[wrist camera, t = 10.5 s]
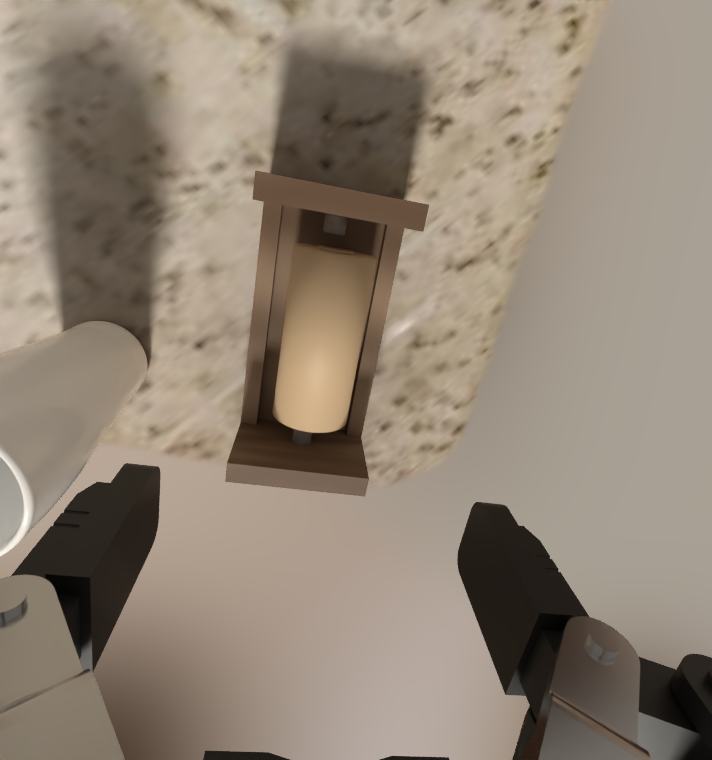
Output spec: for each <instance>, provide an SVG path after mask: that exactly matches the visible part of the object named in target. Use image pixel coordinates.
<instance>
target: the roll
mask: <svg viewBox="0 0 712 760" xmlns="http://www.w3.org/2000/svg"><path fill="white" fill-rule="evenodd" d="M376 263H377V258H375V257H373V256H370V255H367V254H364V253H360V252H355V251H352V250H349V249H345V248H340V247H334V246H328V245H317V244H308V243H295V244H294V248H293V256H292V264H291V271H290V279H289V287H288V295H287V303H286V311H285V319H284V327H283V335H282V343H281V350H280V358H279V366H278V374H277V382H276V390H275V398H274V406H273V415H274V417H275V418H276V419H277V420H278V421H279V422H281V423H282V424H284V425H286V426H288V427H290V428H293V429H296V430H300V431H305V432H312V433H326V432H333V431H336V430H339V429H341V428H342V427H344V426H345V424H346V422H347V416H348V411H349V406H350V401H351V395H352V390H353V385H354V379H355V374H356V369H357V363H358V358H359V353H360V348H361V342H362V337H363V332H364V326H365V321H366V316H367V310H368V305H369V300H370V295H371V289H372V284H373V279H374V273H375V268H376Z"/></svg>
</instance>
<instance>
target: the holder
mask: <svg viewBox="0 0 712 760" xmlns="http://www.w3.org/2000/svg"><path fill="white" fill-rule="evenodd" d="M253 199H254V200H259V201H264V206H263V215H262V225H261V234H260V244H259V254H258V263H257V273H256V282H255V292H254V301H253V311H252V320H251V330H250V340H249V349H248V359H247V368H246V378H245V387H244V397H243V406H242V416H241V424H240V427H239V430H238V433H237V436H236V439H235V441H234V444H233V447H232V450H231V453H230V456H229V459H228V462H227V471H226V482H234V483H243V484H253V485H262V486H272V487H282V488H291V489H301V490H310V491H319V492H328V493H338V494H347V495H358V496H365V494H366V489H367V485H368V480H369V477H368V472H367V467H366V462H365V456H364V451H363V446H362V440H361V435H362V430H363V426H364V421H365V416H366V411H367V406H368V401H369V396H370V392H371V387H372V382H373V377H374V372H375V367H376V362H377V358H378V353H379V348H380V343H381V338H382V333H383V328H384V324H385V319H386V314H387V309H388V304H389V299H390V294H391V290H392V285H393V280H394V275H395V270H396V265H397V261H398V256H399V251H400V246H401V241H402V236H403V231H404V228H407V229H412V230H418V231H423V230H424V226H425V221H426V217H427V212H428V208H429V205H427V204H422V203H417V202H412V201H407V200H402V199H397V198H391V197H386V196H381V195H376V194H371V193H366V192H361V191H356V190H351V189H346V188H341V187H336V186H331V185H326V184H321V183H316V182H311V181H306V180H300V179H295V178H290V177H285V176H280V175H275V174H270V173H265V172H260V171H255V180H254V191H253ZM295 243H308V244H317V245H328V246H334V247H340V248H345V249H349V250H352V251H355V252H360V253H364V254H367V255H370V256H373V257H375V258H377V263H376V268H375V273H374V279H373V284H372V289H371V295H370V300H369V305H368V310H367V316H366V321H365V326H364V332H363V337H362V342H361V348H360V353H359V358H358V363H357V369H356V374H355V379H354V385H353V390H352V395H351V401H350V406H349V411H348V416H347V422H346V424H345V426H344V427H342V428H341V429H339V430H336V431H333V432H326V433H312V432H305V431H300V430H296V429H293V428H290V427H288V426H286V425H284V424H282V423H281V422H279V421H278V420H277V419H276V418H275V417H274V415H273V406H274V398H275V390H276V382H277V374H278V366H279V358H280V350H281V343H282V335H283V327H284V319H285V311H286V303H287V295H288V287H289V279H290V271H291V264H292V256H293V248H294V244H295Z"/></svg>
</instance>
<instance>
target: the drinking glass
mask: <svg viewBox="0 0 712 760" xmlns="http://www.w3.org/2000/svg"><path fill="white" fill-rule="evenodd" d="M147 367H148V365H147V357H146V354H145V351H144V349H143V347H142V345H141V344H140V342H139V341H138V340H137V339H136V337H135V336H134V335H133V334H131V333H130V332H129V331H127V330H126V329H124V328H123V327H121V326H119V325H116V324H114V323H110V322H105V321H89V322H84V323H81V324H78V325H76V326H74V327H72V328H70V329H68V330H66V331H64V332H61V333H58V334H55V335H53V336H50V337H47V338H44V339H41V340H38V341H35V342H32V343H29V344H27V345H24V346H21V347H18V348H15V349H12V350H9V351H6V352H3V353H0V556H2V555H3V554H5V553H7V552H8V551H10V550H11V549H12V548H14V547H15V546H16V545H17V544H18V543H19V542H20V541H21V540H22V539H23V538H24V536H25V535H26V534H27V533H28V532H29V531H30V530H31V529H32V528H33V527H34V526H35V525H36V524H37V523H38V522H39V521H40V520H41V519H42V518H43V517H44V516H45V515H46V514H47V513H48V512H49V510H50V509H51V508H52V507H53V506H54V505H55V504H56V503H57V502H58V500H59V499H60V498H61V497H62V496H63V494H64V493H65V492H66V491H67V489H68V488H69V487H70V486H71V484H72V483H73V482H74V481H75V479H76V478H77V477H78V475H79V474H80V472H81V471H82V469H83V468H84V466H85V465H86V464H87V462H88V461H89V459H90V458H91V456H92V455H93V453H94V452H95V450H96V449H97V447H98V446H99V444H100V443H101V441H102V440H103V438H104V437H105V435H106V434H107V432H108V431H109V429H110V428H111V426H112V425H113V423H114V422H115V420H116V419H117V417H118V416H119V414H120V413H121V411H122V410H123V408H124V407H125V406H126V404H127V403H128V401H129V400H130V398H131V397H132V396H133V395H134V394H135V393H136V392H137V390H138V389H139V388H140V387H141V385H142V384H143V382H144V380H145V378H146V374H147Z"/></svg>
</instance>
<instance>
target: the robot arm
mask: <svg viewBox="0 0 712 760" xmlns="http://www.w3.org/2000/svg"><path fill="white" fill-rule="evenodd" d="M159 496H160V469H159V467H156V466H147V465H137V464H128V463H126V464H125V465H123V467H122V468H121V469H120V471H119V472H118V474H117V475H116V476H115V478H114V479H113V481H112V482H111V483H103V482H96V483H95V484H93V485H91V486H90V487H88V488H86V489H85V490H83V491H81V492H80V493H78V494H77V495H76V496H75V497H74V499H73V500H72V501H71V502H70V504H69V505H68V506H67V507H66V508H65V510H64V513H62V514H61V515H60V516H59V517H58V518H57V520H56V521H55V522H54V525H53V526H51V527H50V528H49V530H48V531H47V532H46V533H45V534H44V536H43V537H42V538H41V539H40V541H39V542H38V543H37V545H36V546H35V547H34V548H33V549H32V551H31V552H30V553H29V554H28V556H27V557H26V558H25V559H24V561H23V562H22V563H21V564H20V565H19V567H18V568H17V569H16V571H15V572H14V573H13V574H12V576H9V577H5V578H2V579H0V760H124V757H123V754H122V751H121V748H120V746H119V743H118V740H117V738H116V735H115V732H114V729H113V726H112V724H111V721H110V719H109V716H108V713H107V710H106V707H105V704H104V702H103V699H102V697H101V694H100V691H99V688H98V685H97V683H96V680H95V678H94V675H93V674H92V673H93V671H94V669H95V667H96V665H97V662H98V660H99V658H100V656H101V654H102V652H103V650H104V647H105V645H106V643H107V641H108V639H109V637H110V635H111V633H112V631H113V628H114V626H115V624H116V622H117V620H118V618H119V616H120V614H121V611H122V609H123V607H124V605H125V603H126V601H127V598H128V597H129V594H130V592H131V590H132V588H133V586H134V584H135V582H136V580H137V578H138V575H139V573H140V571H141V569H142V567H143V565H144V563H145V560H146V558H147V556H148V554H149V552H150V550H151V548H152V545H153V543H154V540H155V536H156V532H157V528H158V519H159ZM458 569H459V573H460V576H461V579H462V582H463V584H464V587H465V589H466V592H467V595H468V597H469V600H470V602H471V605H472V608H473V611H474V613H475V616H476V618H477V621H478V623H479V626H480V629H481V631H482V634H483V637H484V639H485V642H486V645H487V647H488V650H489V652H490V655H491V658H492V661H493V663H494V666H495V668H496V671H497V674H498V676H499V679H500V682H501V684H502V686H503V690H504V692H505V694H506V695H523V696H526V697H527V700H528V702H529V704H530V706H529V708H528V710H527V712H526V715H525V717H524V721H523V724H522V728H521V731H520V735H519V738H518V741H517V745H516V748H515V752H514V755H513V759H512V760H712V658H710V657H707V656H704V655H699V654H689V655H687V656H685V657H684V658H683V659H682V661H681V663H680V665H679V666H678V668H677V670H675V669H673V668H670V667H667V666H664V665H661V664H658V663H655V662H652V661H649V660H646V659H643V658H640V657H638V655H637V653H636V651H635V649H634V648H633V646H632V645H631V644H630V643H629V642H628V640H627V639H626V638H625V637H624V636H622V635H621V634H620V633H619V632H618V631H617V630H615V629H614V628H612V627H611V626H609V625H607V624H606V623H604V622H601V621H599V620H597V619H594V618H591V617H589V616H588V614H587V612H586V611H585V609H584V608H583V606H582V605H581V604H580V602H579V600H578V599H577V597H576V596H575V594H574V592H573V591H572V590H571V588H570V586H569V585H568V583H567V582H566V580H565V579H564V577H563V576H562V574H561V572H558V568H557V567H556V565H555V563H554V562H553V561H552V559H550V556H549V554H548V553H547V551H546V549H545V548H544V546H543V545H542V543H541V542H540V540H538V539H537V538H536V537H535V536H534V535H533V534H532V533H531V532H529V531H528V530H527V529H526V528H525V527H524V526H518V524H517V522H516V521H515V519H514V518H513V516H512V514H511V513H510V511H509V509H508V508H507V507H506V506H505V505H500V504H491V503H482V502H476V503H475V504H474V505H473V507H472V509H471V512H470V515H469V518H468V521H467V524H466V527H465V531H464V534H463V537H462V540H461V543H460V546H459V550H458ZM203 760H289V759H286V758H283V757H280V756H277V755H274V754H271V753H265V752H264V753H263V752H229V751H205V754H204V759H203ZM380 760H449V758H445V757H409V756H408V757H407V756H391V757H387V758H384V759H380Z"/></svg>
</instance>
